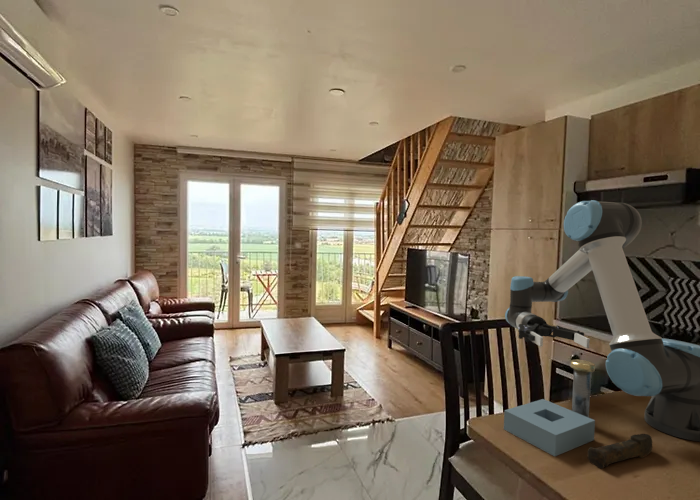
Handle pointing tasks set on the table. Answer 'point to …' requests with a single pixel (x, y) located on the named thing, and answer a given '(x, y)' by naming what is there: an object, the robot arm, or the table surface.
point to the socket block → (549, 426)
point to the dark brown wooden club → (621, 450)
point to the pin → (581, 386)
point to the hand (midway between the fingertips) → (564, 342)
